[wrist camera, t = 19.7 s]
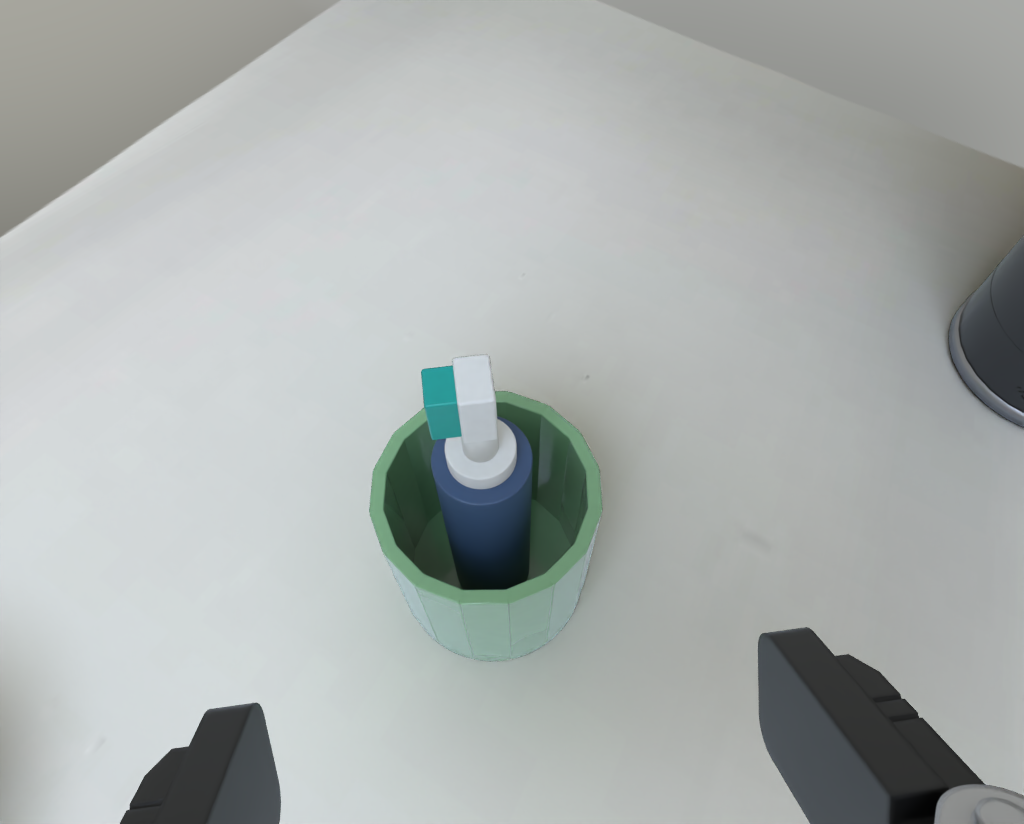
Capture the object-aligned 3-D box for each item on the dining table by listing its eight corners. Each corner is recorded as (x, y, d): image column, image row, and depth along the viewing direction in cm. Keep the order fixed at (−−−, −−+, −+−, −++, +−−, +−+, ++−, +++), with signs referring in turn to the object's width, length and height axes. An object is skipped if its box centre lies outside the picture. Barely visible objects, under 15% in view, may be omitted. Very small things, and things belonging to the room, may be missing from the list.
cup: (450, 465, 37) (430, 363, 29) (606, 523, 35) (631, 433, 27) (373, 618, 33) (328, 550, 25) (544, 691, 31) (552, 642, 24)
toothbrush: (523, 528, 34) (525, 321, 20) (534, 598, 33) (543, 424, 19) (453, 537, 34) (407, 335, 20) (460, 608, 32) (416, 440, 19)
